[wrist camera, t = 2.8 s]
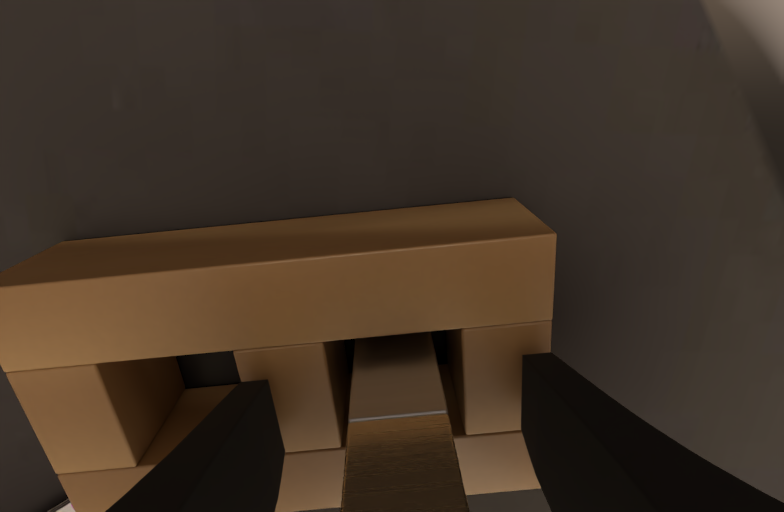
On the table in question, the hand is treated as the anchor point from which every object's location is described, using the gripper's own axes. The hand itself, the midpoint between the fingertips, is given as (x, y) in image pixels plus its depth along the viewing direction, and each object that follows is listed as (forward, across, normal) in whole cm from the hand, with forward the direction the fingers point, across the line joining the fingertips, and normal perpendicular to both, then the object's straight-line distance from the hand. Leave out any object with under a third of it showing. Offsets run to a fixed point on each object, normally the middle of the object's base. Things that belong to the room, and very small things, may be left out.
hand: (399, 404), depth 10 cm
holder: (+3, +2, 0) cm, 4 cm away
